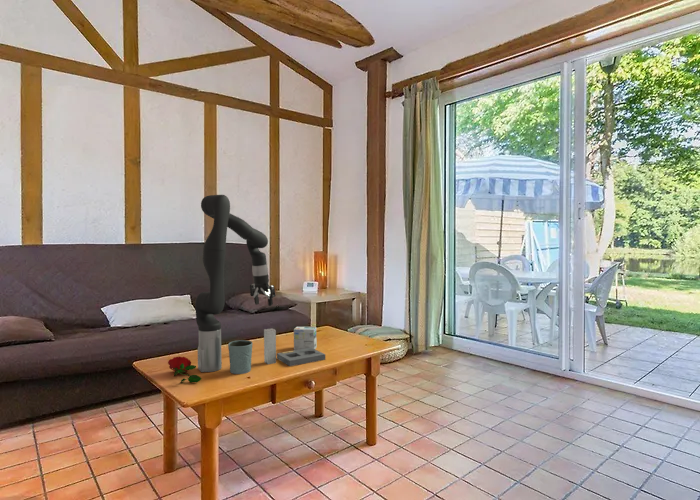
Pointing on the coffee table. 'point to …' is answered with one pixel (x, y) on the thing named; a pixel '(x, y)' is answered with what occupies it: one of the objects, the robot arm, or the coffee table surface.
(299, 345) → the light bulb box
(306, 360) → the socket board
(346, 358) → the coffee table surface
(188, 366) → the flower
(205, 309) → the robot arm
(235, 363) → the green embossed pot
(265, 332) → the square bit
